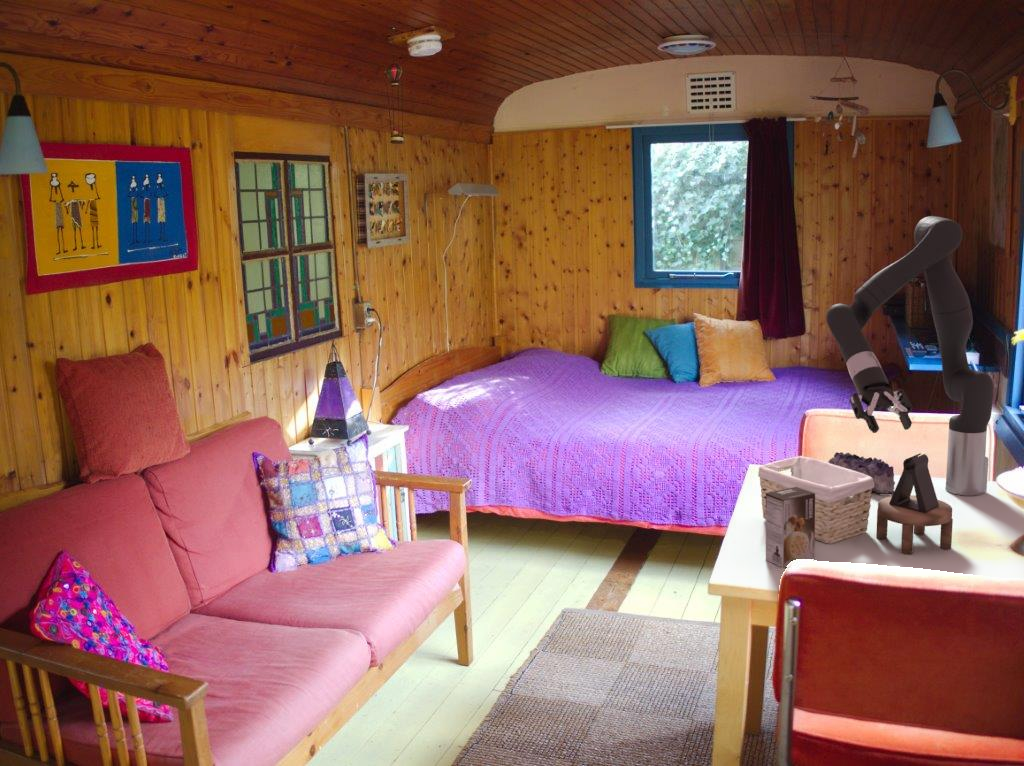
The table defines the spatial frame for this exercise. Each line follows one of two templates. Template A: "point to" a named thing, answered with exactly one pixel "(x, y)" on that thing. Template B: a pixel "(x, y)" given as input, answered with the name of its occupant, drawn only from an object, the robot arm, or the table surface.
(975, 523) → the table surface
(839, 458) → the geode
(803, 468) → the storage basket
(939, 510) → the stool
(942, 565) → the table surface
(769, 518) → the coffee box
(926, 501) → the phone stand
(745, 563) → the table surface
